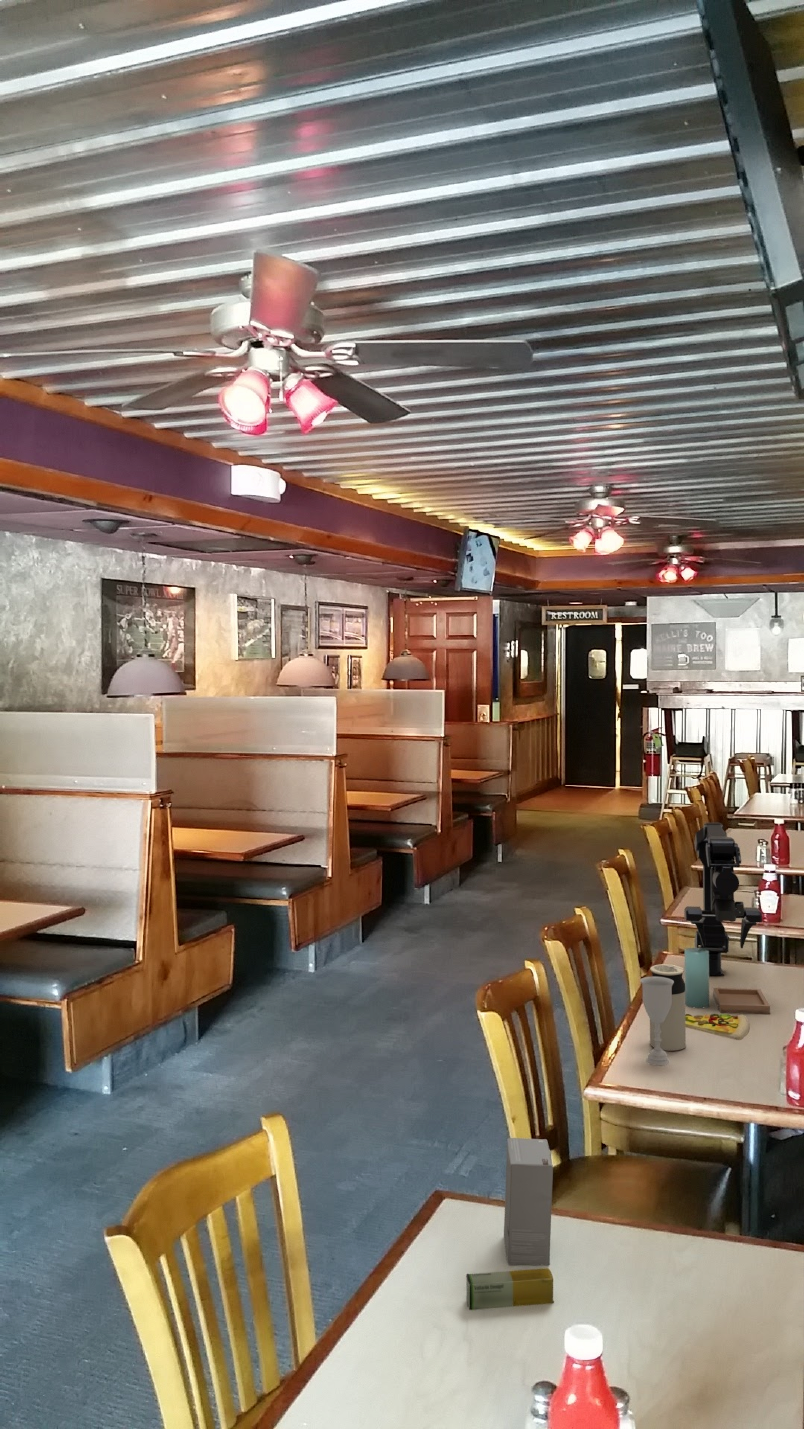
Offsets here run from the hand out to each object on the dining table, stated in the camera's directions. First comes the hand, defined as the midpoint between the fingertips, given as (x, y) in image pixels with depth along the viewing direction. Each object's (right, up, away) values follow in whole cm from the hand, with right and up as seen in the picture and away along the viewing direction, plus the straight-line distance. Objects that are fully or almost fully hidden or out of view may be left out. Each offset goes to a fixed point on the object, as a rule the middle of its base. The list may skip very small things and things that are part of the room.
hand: (722, 947), depth 271 cm
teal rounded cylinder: (-7, -15, 0) cm, 16 cm away
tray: (+4, -15, 0) cm, 15 cm away
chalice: (-26, -17, -38) cm, 49 cm away
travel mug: (-21, -17, -28) cm, 39 cm away
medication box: (-68, -22, -125) cm, 144 cm away
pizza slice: (-9, -16, -15) cm, 24 cm away
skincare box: (-64, -21, -113) cm, 131 cm away
